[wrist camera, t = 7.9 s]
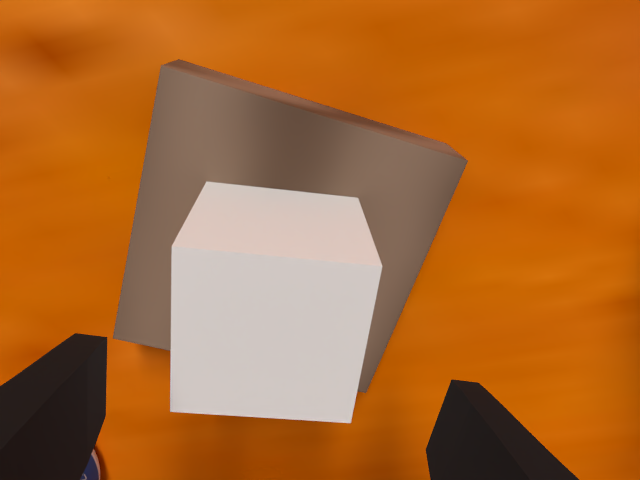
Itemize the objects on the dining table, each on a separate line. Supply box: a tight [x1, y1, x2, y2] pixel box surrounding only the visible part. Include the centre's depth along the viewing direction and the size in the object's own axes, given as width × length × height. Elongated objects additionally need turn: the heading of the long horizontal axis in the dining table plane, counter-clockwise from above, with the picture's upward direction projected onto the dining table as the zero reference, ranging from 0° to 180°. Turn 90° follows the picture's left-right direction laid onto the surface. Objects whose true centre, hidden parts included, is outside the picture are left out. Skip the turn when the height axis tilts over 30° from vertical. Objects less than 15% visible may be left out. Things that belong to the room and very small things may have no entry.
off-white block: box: [170, 181, 382, 423], centre depth 15 cm, size 5×5×5 cm
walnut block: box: [113, 59, 468, 393], centre depth 19 cm, size 10×10×3 cm
